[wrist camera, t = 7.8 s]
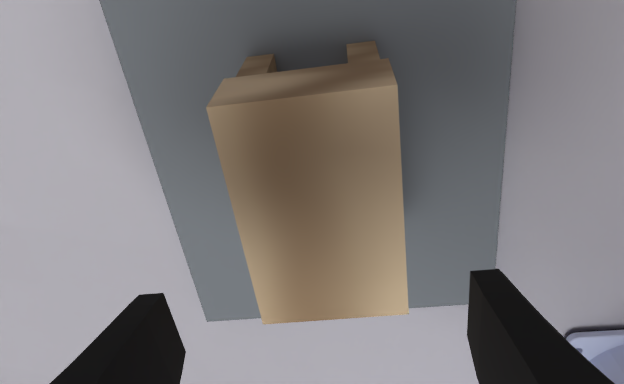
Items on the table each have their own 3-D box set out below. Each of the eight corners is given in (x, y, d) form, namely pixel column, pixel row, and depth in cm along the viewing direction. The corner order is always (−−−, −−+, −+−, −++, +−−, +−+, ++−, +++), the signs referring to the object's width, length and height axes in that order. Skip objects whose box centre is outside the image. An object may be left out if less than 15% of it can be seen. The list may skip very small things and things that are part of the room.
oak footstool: (380, 34, 17) (397, 84, 12) (392, 222, 21) (408, 314, 16) (240, 52, 17) (205, 107, 13) (278, 232, 21) (262, 324, 17)
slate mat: (487, 291, 24) (492, 302, 23) (210, 310, 25) (206, 321, 24) (520, -157, 15) (529, -159, 14) (81, -87, 16) (70, -87, 15)
